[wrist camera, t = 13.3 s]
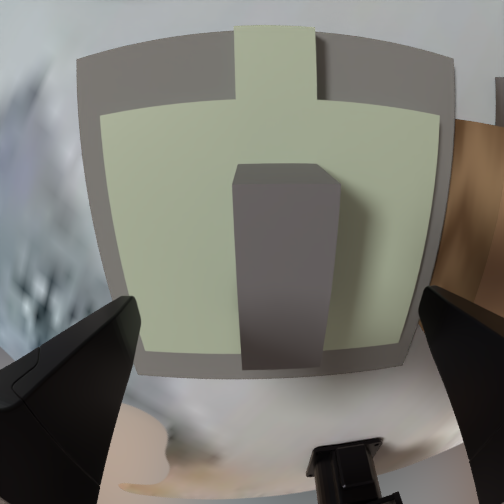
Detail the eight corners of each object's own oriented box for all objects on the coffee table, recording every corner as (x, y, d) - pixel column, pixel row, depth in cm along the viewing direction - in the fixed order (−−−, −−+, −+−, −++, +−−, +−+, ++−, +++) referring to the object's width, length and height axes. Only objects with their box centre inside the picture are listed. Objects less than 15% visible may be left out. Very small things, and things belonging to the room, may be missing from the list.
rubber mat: (399, 359, 18) (402, 365, 17) (140, 368, 18) (138, 374, 18) (446, 59, 10) (453, 58, 10) (83, 60, 10) (76, 59, 10)
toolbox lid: (393, 334, 16) (420, 388, 12) (148, 341, 16) (127, 399, 12) (429, 52, 10) (489, 41, 6) (106, 50, 10) (50, 34, 6)
